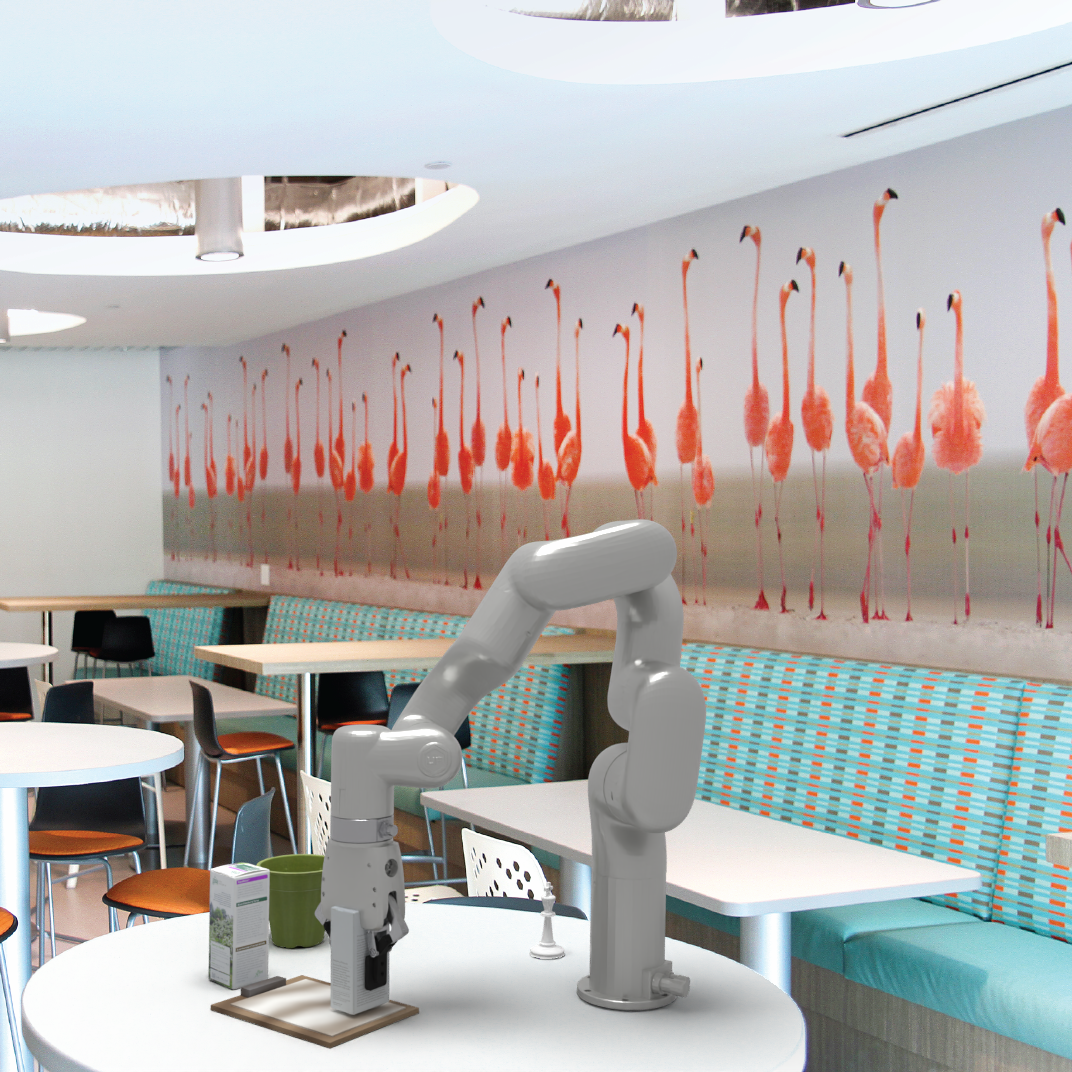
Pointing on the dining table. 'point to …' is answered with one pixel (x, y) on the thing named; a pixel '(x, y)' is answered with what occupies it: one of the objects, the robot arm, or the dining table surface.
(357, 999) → the skincare box
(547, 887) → the chess piece
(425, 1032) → the dining table surface
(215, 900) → the syrup box
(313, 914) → the plant pot
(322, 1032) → the clipboard
